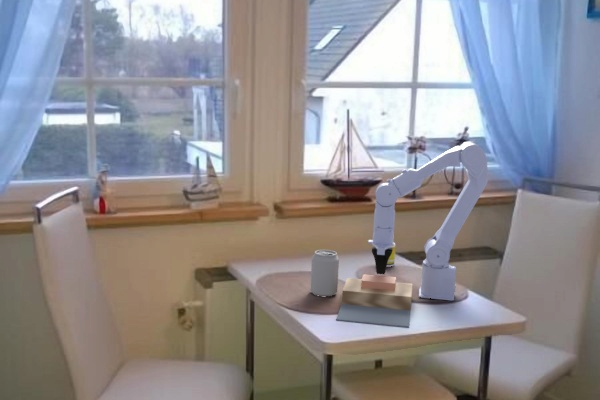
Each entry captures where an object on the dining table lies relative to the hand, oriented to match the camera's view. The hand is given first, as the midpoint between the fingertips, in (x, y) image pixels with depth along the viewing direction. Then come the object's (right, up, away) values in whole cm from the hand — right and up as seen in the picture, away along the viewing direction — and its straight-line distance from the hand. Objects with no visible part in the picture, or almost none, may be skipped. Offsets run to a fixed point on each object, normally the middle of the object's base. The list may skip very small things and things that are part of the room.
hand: (380, 273), depth 205 cm
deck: (-2, -7, -8) cm, 10 cm away
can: (-16, -6, -3) cm, 17 cm away
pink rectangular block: (-1, -3, -8) cm, 8 cm away
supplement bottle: (+5, 0, +28) cm, 29 cm away
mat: (-4, -9, -19) cm, 22 cm away
